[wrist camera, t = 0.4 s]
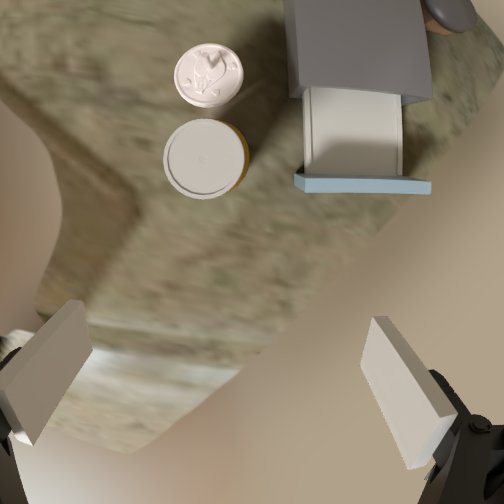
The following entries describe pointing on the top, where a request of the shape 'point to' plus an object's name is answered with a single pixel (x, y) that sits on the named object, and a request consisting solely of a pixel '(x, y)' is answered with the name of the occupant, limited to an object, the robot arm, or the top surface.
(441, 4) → the disc
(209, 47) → the smoothie
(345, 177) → the light blue drawer
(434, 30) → the block
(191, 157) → the bottle
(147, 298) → the top surface
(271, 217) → the top surface
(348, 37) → the housing
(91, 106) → the top surface
